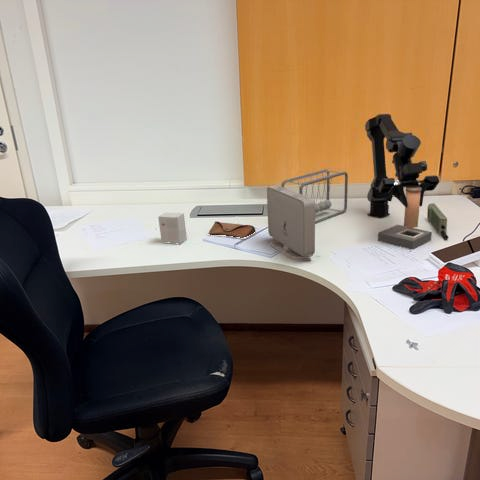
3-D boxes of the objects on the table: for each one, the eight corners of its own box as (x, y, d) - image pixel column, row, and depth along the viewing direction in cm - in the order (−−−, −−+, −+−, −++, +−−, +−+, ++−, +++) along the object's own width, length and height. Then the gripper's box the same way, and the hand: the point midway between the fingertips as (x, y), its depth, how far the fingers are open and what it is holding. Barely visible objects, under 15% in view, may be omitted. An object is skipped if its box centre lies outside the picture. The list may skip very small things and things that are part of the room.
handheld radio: (435, 219, 175) (451, 241, 152) (426, 219, 175) (441, 241, 152) (436, 203, 172) (453, 222, 149) (427, 203, 173) (442, 223, 150)
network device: (263, 240, 162) (260, 186, 155) (284, 236, 165) (283, 183, 158) (298, 264, 140) (297, 202, 133) (322, 258, 143) (322, 198, 136)
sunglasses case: (204, 235, 171) (207, 218, 172) (212, 238, 177) (216, 222, 178) (246, 240, 163) (249, 222, 164) (253, 243, 170) (256, 226, 171)
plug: (400, 225, 150) (403, 188, 145) (407, 222, 153) (410, 185, 148) (413, 228, 146) (416, 190, 142) (421, 225, 149) (424, 187, 145)
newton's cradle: (301, 229, 172) (301, 184, 166) (281, 224, 179) (280, 180, 173) (347, 212, 190) (348, 170, 184) (327, 208, 198) (328, 168, 192)
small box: (187, 239, 168) (184, 212, 164) (180, 244, 163) (177, 217, 159) (168, 238, 170) (165, 211, 167) (161, 243, 165) (157, 216, 162)
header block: (377, 240, 155) (378, 231, 154) (396, 232, 162) (397, 223, 161) (412, 249, 146) (413, 239, 145) (430, 240, 153) (431, 230, 152)
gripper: (383, 154, 145) (392, 195, 139) (440, 150, 145) (452, 191, 139) (374, 173, 155) (383, 212, 149) (427, 170, 155) (438, 209, 149)
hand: (413, 206), depth 146 cm, fingers closed on plug, 4 cm apart
